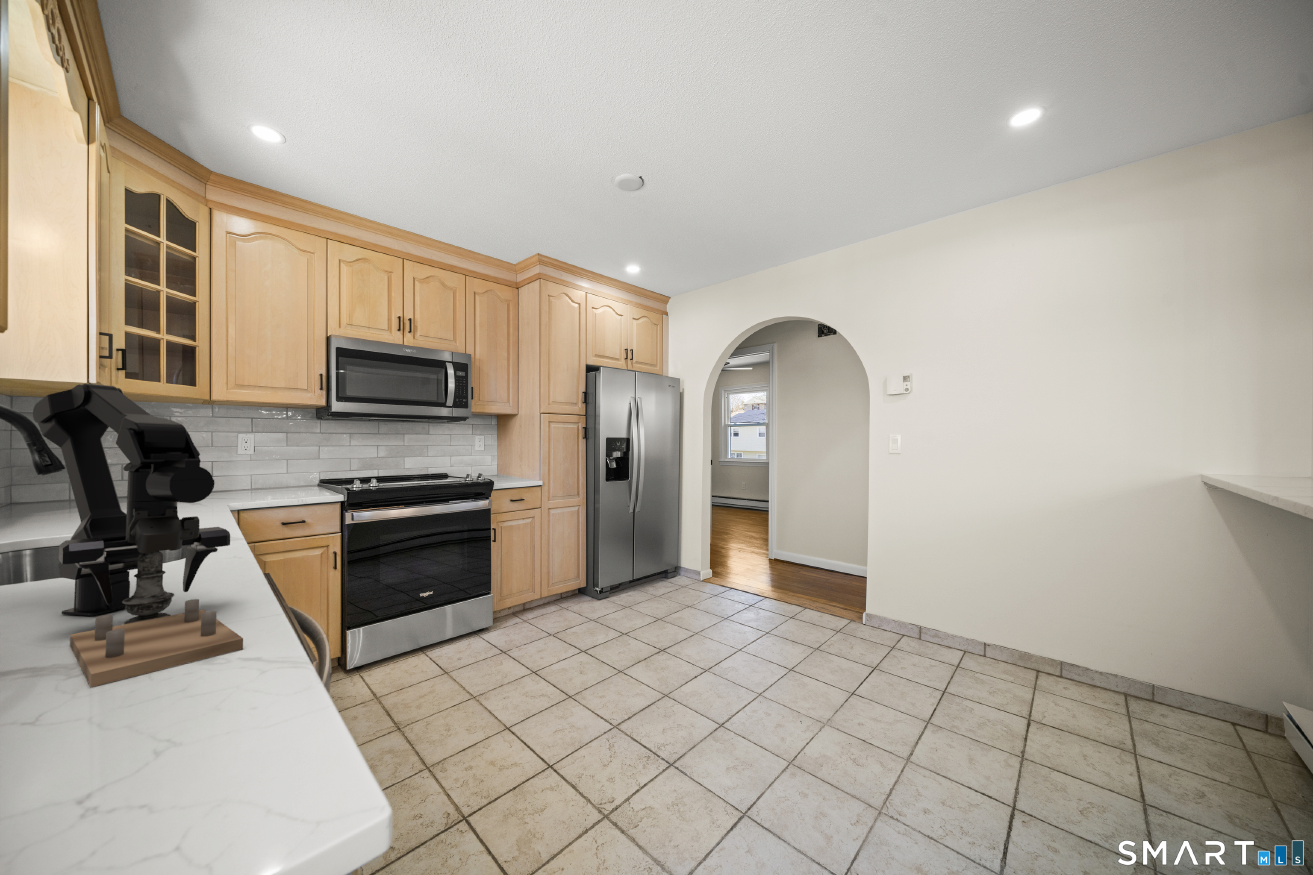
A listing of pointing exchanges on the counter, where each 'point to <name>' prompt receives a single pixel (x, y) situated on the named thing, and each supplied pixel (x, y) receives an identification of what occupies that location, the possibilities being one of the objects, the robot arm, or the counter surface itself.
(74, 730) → the counter surface
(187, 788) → the counter surface
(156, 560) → the dark grey turned piece
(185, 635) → the peg board
